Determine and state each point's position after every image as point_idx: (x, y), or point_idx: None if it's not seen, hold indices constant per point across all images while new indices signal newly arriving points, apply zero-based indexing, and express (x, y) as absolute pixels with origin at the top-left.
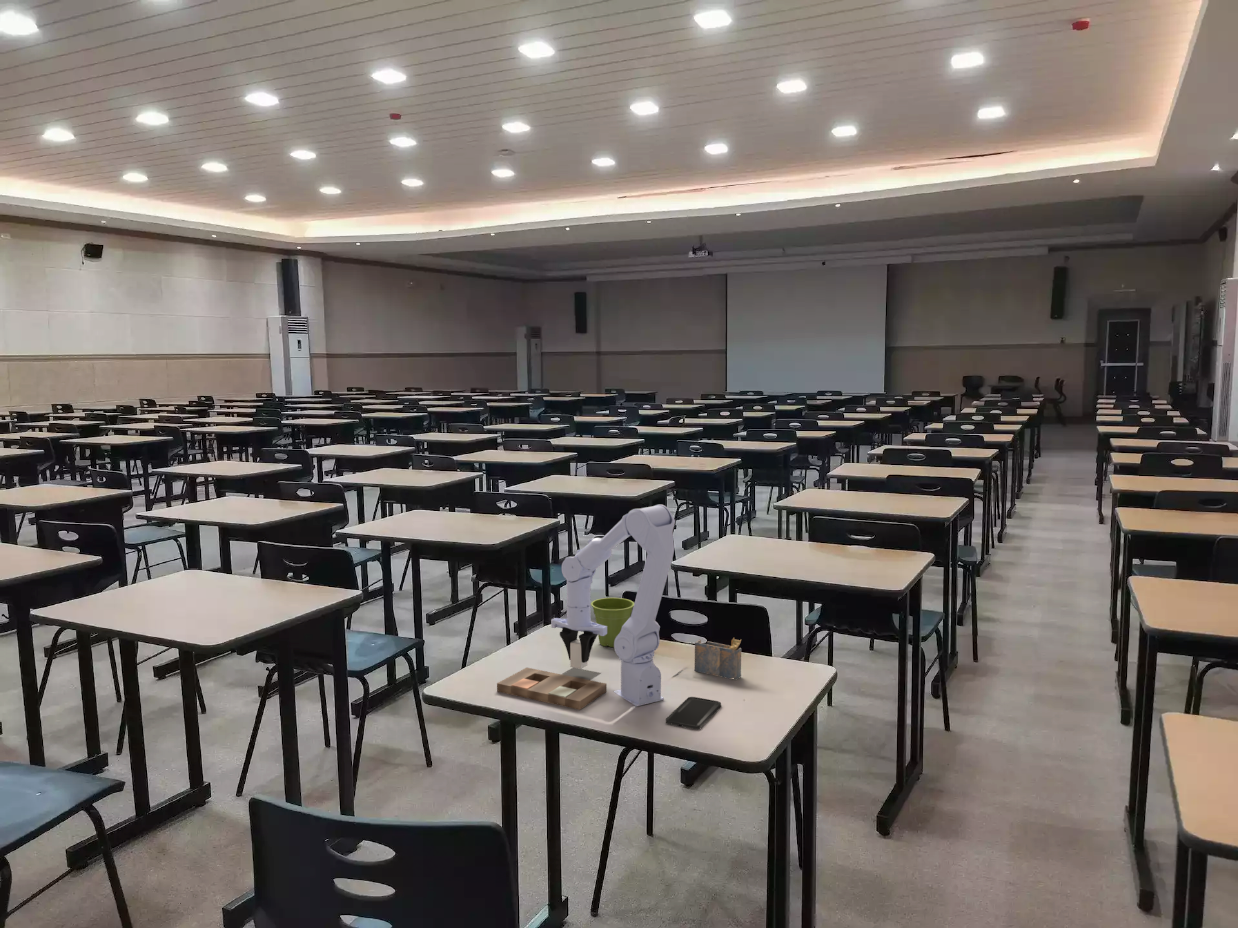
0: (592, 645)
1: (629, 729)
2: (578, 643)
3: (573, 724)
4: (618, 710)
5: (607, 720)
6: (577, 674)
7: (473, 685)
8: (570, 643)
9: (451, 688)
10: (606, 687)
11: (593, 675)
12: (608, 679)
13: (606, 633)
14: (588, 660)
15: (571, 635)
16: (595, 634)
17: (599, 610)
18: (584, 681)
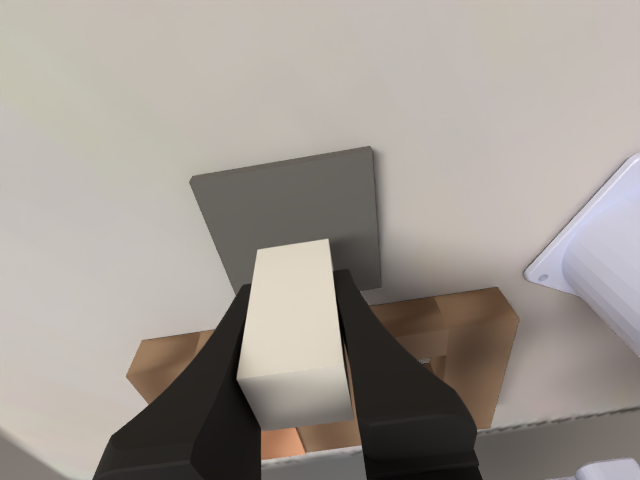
0: (386, 329)
1: (636, 389)
2: (324, 417)
3: (491, 428)
4: (580, 343)
5: (566, 388)
6: (285, 237)
7: (105, 436)
8: (264, 423)
9: (92, 462)
10: (510, 306)
11: (359, 203)
12: (433, 167)
13: (634, 474)
14: (349, 270)
15: (246, 473)
16: (469, 447)
17: None
18: (424, 347)
